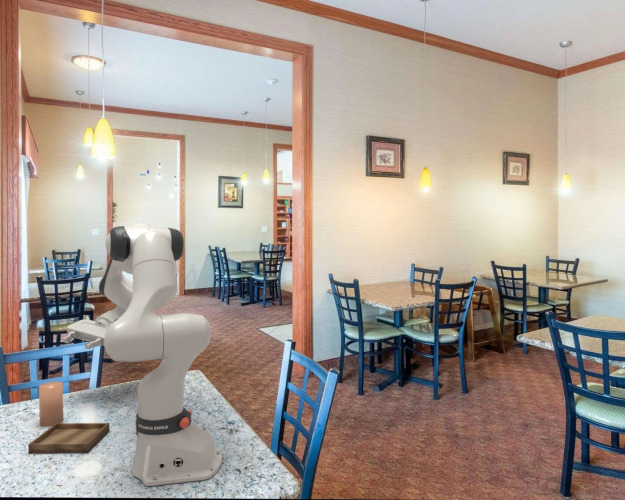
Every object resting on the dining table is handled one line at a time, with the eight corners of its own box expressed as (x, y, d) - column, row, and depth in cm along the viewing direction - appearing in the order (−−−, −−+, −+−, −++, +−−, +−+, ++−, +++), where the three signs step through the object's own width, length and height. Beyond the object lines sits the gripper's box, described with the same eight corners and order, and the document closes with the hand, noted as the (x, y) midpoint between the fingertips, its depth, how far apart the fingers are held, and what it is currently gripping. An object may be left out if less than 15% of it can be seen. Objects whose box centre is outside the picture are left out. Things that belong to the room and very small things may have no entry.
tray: (109, 431, 130) (109, 423, 130) (88, 453, 117) (87, 444, 117) (55, 431, 130) (55, 423, 130) (28, 453, 117) (28, 444, 117)
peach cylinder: (67, 417, 140) (66, 381, 139) (56, 426, 133) (55, 388, 133) (47, 417, 139) (46, 381, 139) (35, 426, 133) (34, 388, 133)
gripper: (85, 312, 158) (51, 329, 146) (129, 323, 151) (97, 342, 139) (87, 327, 160) (54, 345, 148) (131, 338, 153) (100, 359, 141)
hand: (75, 344), depth 144 cm, fingers open, 8 cm apart
